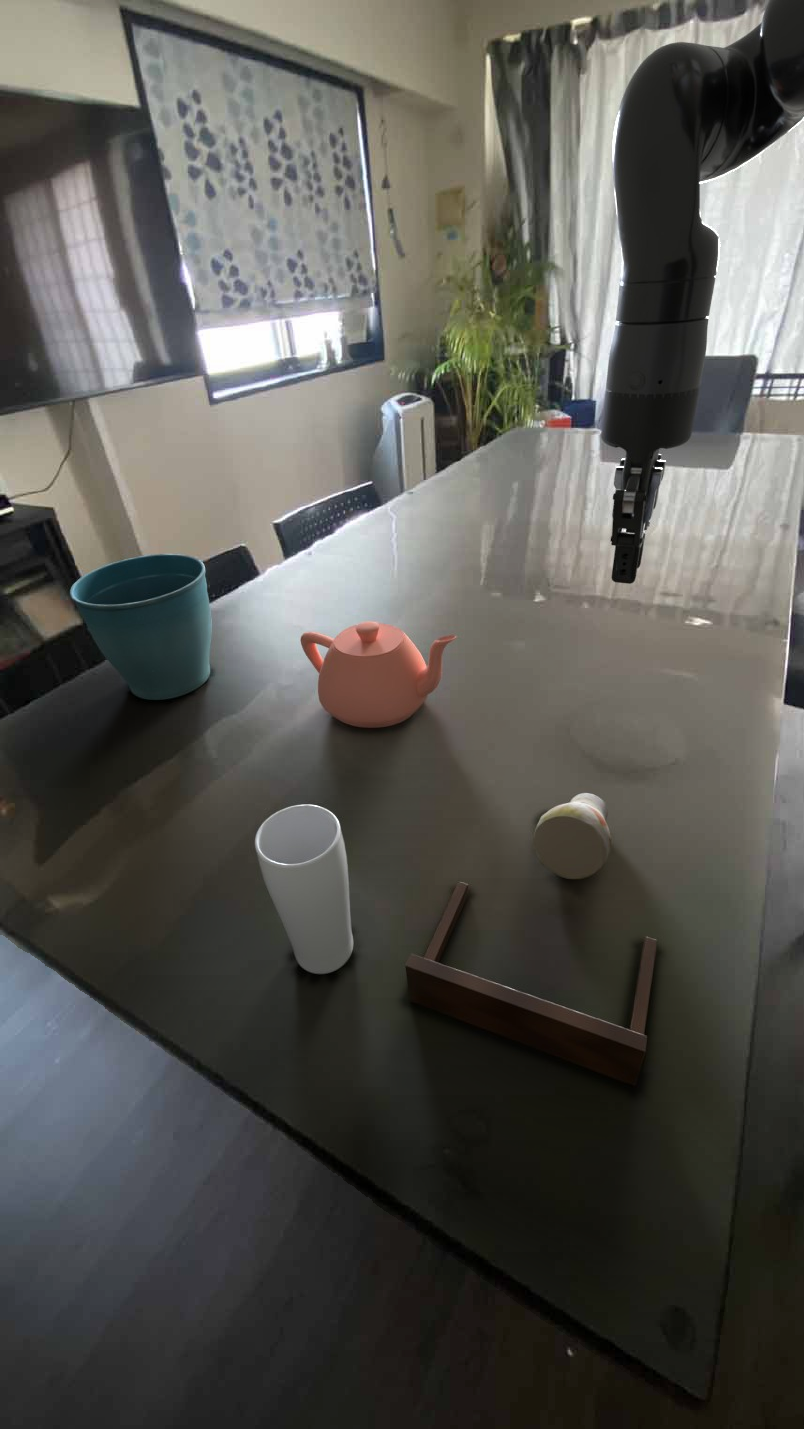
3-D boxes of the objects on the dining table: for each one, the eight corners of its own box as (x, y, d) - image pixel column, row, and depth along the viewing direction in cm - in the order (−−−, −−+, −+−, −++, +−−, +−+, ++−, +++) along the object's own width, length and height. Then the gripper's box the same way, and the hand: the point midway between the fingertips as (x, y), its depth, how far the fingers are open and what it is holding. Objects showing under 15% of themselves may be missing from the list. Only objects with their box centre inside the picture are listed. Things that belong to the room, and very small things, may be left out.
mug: (622, 820, 68) (643, 793, 59) (580, 900, 65) (596, 884, 56) (558, 786, 70) (569, 755, 61) (516, 862, 68) (520, 841, 59)
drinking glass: (335, 997, 54) (307, 880, 45) (272, 965, 57) (234, 849, 48) (376, 935, 59) (358, 818, 50) (316, 908, 61) (289, 793, 53)
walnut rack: (654, 950, 55) (664, 913, 52) (635, 1086, 46) (645, 1052, 44) (458, 891, 62) (457, 855, 59) (409, 1000, 53) (405, 965, 50)
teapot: (472, 686, 91) (471, 608, 84) (441, 750, 80) (437, 666, 73) (332, 667, 98) (321, 594, 91) (286, 724, 87) (269, 645, 80)
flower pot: (172, 642, 109) (142, 546, 99) (255, 663, 101) (231, 560, 91) (85, 697, 96) (40, 593, 86) (172, 725, 89) (134, 614, 79)
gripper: (694, 398, 47) (657, 609, 57) (705, 367, 58) (672, 551, 68) (591, 398, 50) (573, 599, 60) (619, 369, 60) (600, 545, 70)
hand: (626, 573), depth 64 cm, fingers open, 3 cm apart
